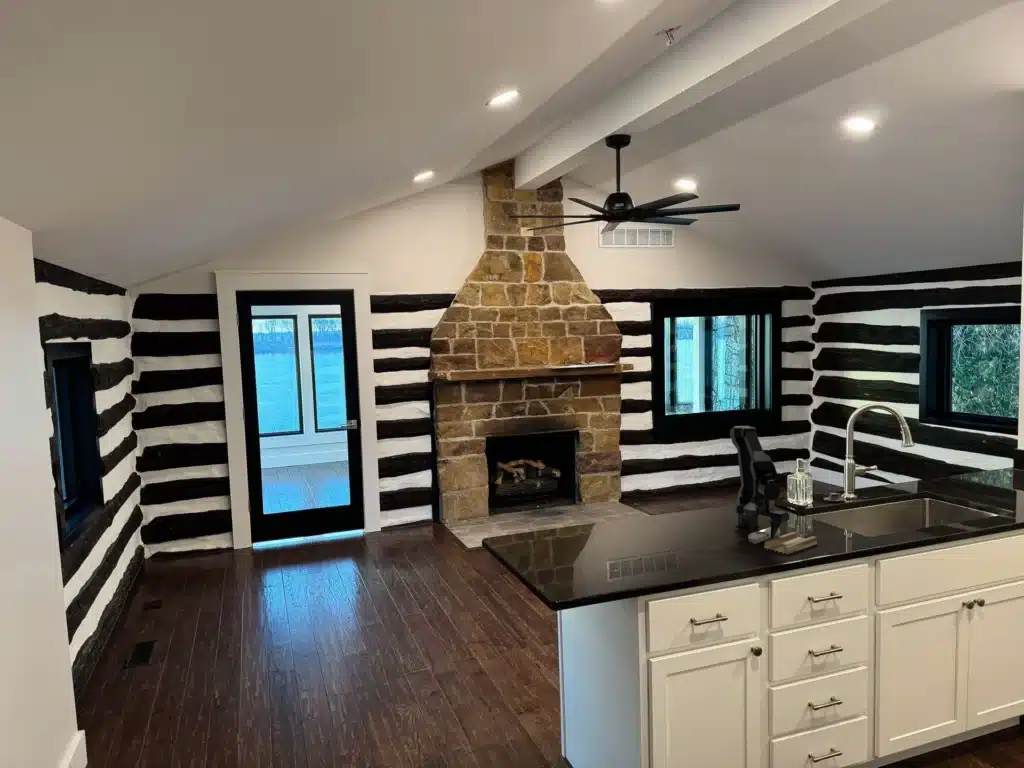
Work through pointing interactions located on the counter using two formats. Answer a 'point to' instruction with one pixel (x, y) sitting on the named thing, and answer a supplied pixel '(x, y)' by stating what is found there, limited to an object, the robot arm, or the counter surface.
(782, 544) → the cradle
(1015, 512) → the counter surface
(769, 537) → the axle
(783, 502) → the hand tool
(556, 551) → the counter surface
